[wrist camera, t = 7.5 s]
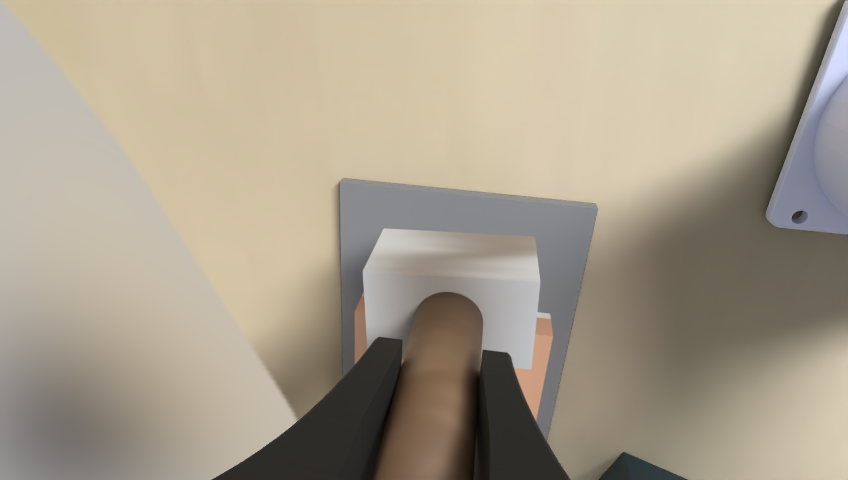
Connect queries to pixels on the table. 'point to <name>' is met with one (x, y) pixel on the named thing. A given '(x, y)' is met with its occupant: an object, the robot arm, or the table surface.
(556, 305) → the mat
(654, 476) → the watch
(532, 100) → the table surface
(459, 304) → the trowel
